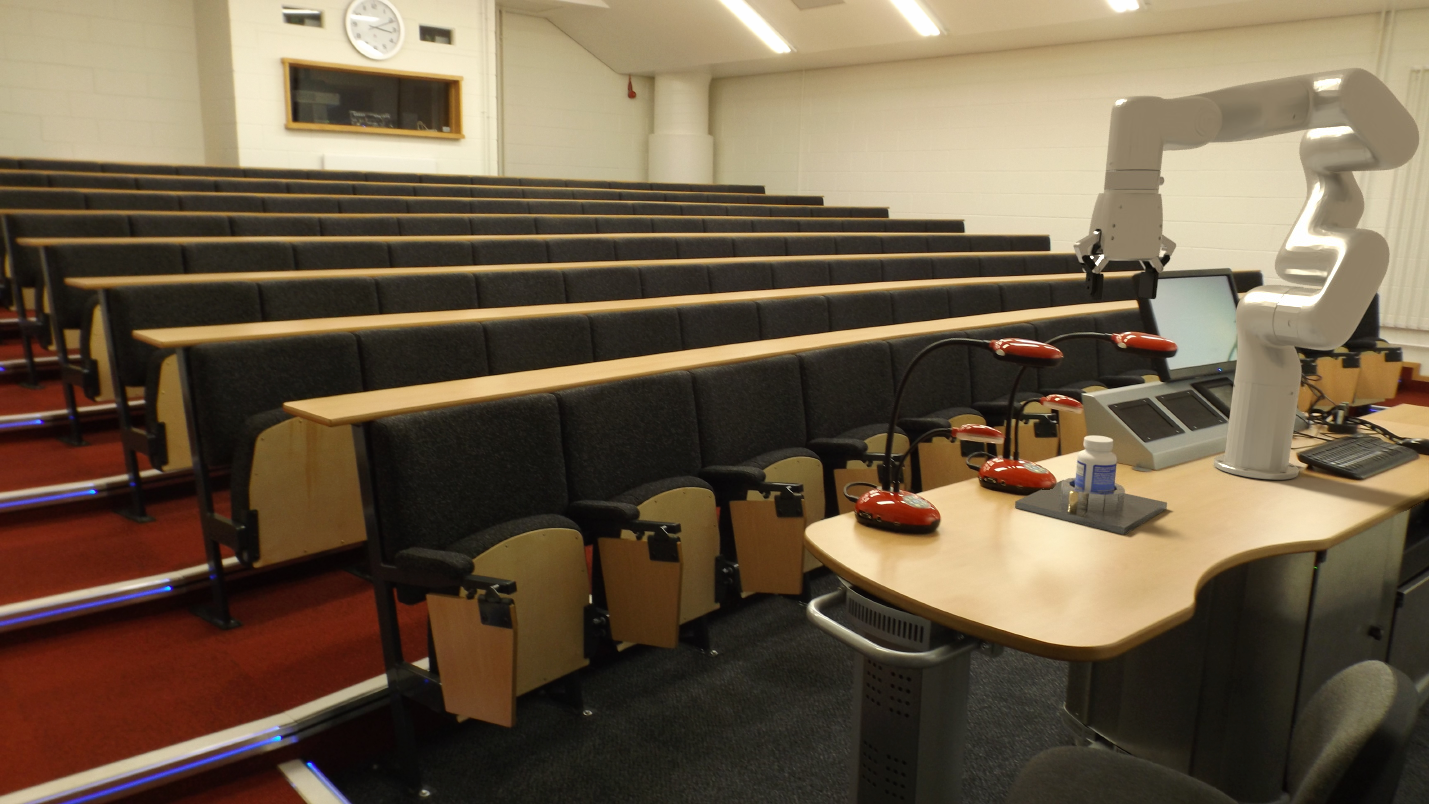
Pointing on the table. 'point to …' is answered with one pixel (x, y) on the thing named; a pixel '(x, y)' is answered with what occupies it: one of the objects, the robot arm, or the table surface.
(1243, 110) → the robot arm
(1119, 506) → the flange base
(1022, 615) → the table surface
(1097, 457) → the pill bottle
